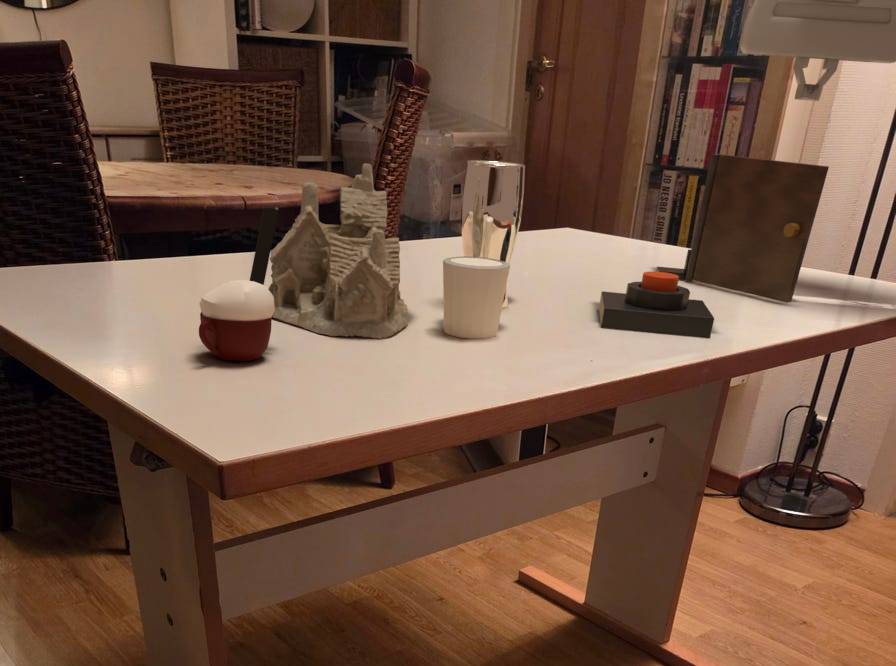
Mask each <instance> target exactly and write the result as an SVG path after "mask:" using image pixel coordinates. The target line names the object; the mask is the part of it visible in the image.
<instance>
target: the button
mask: <svg viewBox="0 0 896 666" xmlns="http://www.w3.org/2000/svg"><path fill="white" fill-rule="evenodd" d="M679 281H680V280H679V276H678V275H675V274H671V273H665V272H656V271H644V272H643V273H642V277H641V282H642V283H641V288H644V289H648V290H654V291H663V292H676V290H677V285H678V284H679ZM678 286H679V285H678Z"/></svg>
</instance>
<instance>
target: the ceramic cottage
mask: <svg viewBox="0 0 896 666" xmlns="http://www.w3.org/2000/svg"><path fill="white" fill-rule="evenodd" d="M374 186H375V185H374V174H373V166H372V164H370V163H363V164H362V167H361V173H360V174H356V175H355V177H354V179H353V181H352V185H351V187H346V186H340V189H339V210H340V211H339V221H340V224H326V223H322V222H321V221H320V217H319V192H318V191H319V185H317V183H316V182H308V181H305V182H304V183H302V185H301V187H302V188H301V189H302V190H301V203H300V205H301V206H300V212H299V215H297V216H296V218H294V221H295V222H293V224H292V226H291V228H290V229H289V230H288V231H287V233H285V234H284V237H282V240H280V241H279V242H278V243H277V244H276V246H274V248H273V249H271V251H270V256H269V261H270V263H271V267H270V270H271V272H272V273H271V275H270V277H271V279H272V280H271V283H270V284H269V286H268V288H267V289H268V290H269V291H270V292H271V294H272V295H273V297H274V306H275V311H274V313H273V315H272V318H273V319H277V320H279V321H281V322H283V323H284V322H285V323H288V324H291V325H296V326H298V327H301V328H303V329H305V330H308V331H309V330H310V332H313V333H316V334H321V335H327V336H331V337H337V336H339V337H340V336H341V337H347V338H348V337H349V336H351V338H353V337H354V336H358V337H363V338H366V337H367V338H372V339H373V338H374V339H376V338H378V339H380V340H381V339H382V338H384V339H386V338H390V337H391V336H395V334H397V333H398V332H399V333H400V332H401V330H402V329H404V328H406V327H407V326H408V324H409V316H408V313H409V311H408V309H409V308H408V304H406V303H405V301H404V299H403V298H401V291H400V283H401V259H400V252H401V246H400V237H391V238H386V235H385V232H386V230H387V227H388V225H387V220H388V203H387V195H388V194H387V191H386V190H381V191H380V190H379V191H377V190H375V187H374Z"/></svg>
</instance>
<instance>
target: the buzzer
mask: <svg viewBox="0 0 896 666" xmlns="http://www.w3.org/2000/svg"><path fill="white" fill-rule="evenodd" d="M641 283H642V281H632V282H629V283H627V286H626V291H625V292H613V291H601V293H600V299H599V304H598V315H599V324H600V328H601V329H609V330H617V331H618V330H619V331H628V332H629V331H630V332H639V333H640V332H641V333H651V334H662V335H672V336H683V337H692V338H694V337H695V338H702V339H703V338H704V339H711V334H712V330H713V326H714V322H715V317H714V315H713V314H712V312H711V311H710V310H709V308H708V306H707V305H706V304H705V302H704V300H699V299H690V294H691V291H690V289H689V288H687V287H685V286H681V285H677V290H676V292H663V291H654V290H648V289H644V288H641Z"/></svg>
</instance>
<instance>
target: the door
mask: <svg viewBox="0 0 896 666" xmlns="http://www.w3.org/2000/svg"><path fill="white" fill-rule="evenodd" d="M829 168H830V166H827V165H819V164H811V163H802V162H791V161H785V160H784V161H783V160H776V159H767V158H766V159H765V158H757V157H748V156H740V155H739V156H738V155H731V154H730V155H729V154H721V153H711V156H710V160H709V164H708V169H707V175H706V178H705V179H706V180H705V184H704V187H703V188H704V189H703V193H702V197H701V202H700V207H699V212H698V216H697V221H696V226H695V231H694V236H693V239H692V245H691V249H690V250H691V254H690V258H689V263H688V268H687V272H686V277H685V279H688V280H692V281H694V282H698V283H703V284H707V285H711V286H716V287H719V288H724V289H728V290H731V291H736V292H740V293H744V294H748V295H753V296H757V297H762V298H766V299H770V300H774V301H778V302H781V303H786V304H787V303H791V302H792V300H793V297H794V293H795V291H796V290H795V289H796V287H797V284H798V279H799V276H800V273H801V268H802V265H803V261H804V257H805V254H806V250H807V247H808V243H809V239H810V236H811V232H812V229H813V225H814V223H815V219H816V215H817V211H818V207H819V204H820V200H821V196H822V193H823V190H824V186H825V183H826V179H827V175H828V171H829Z"/></svg>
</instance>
